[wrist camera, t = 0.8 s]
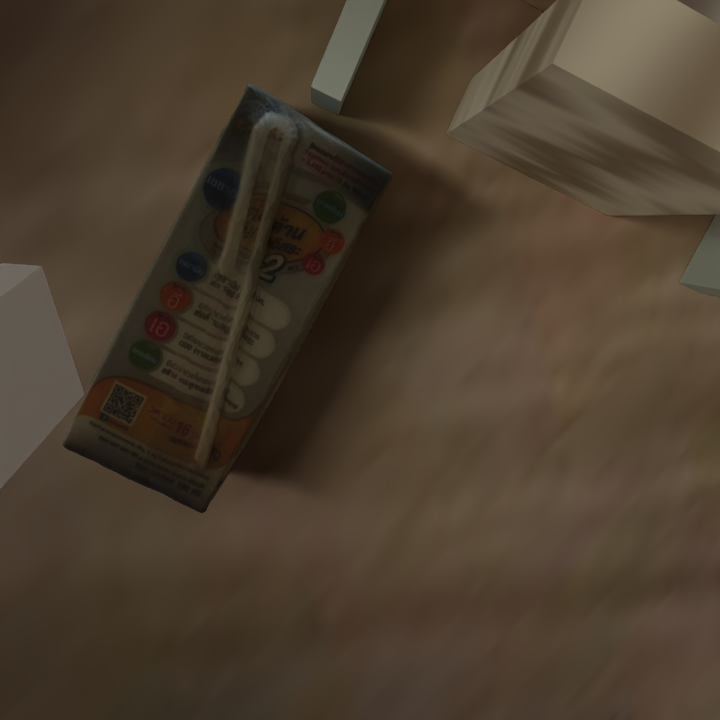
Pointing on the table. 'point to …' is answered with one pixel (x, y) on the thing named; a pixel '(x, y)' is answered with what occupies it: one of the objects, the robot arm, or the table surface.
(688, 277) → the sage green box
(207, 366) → the beverage carton
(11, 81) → the table surface
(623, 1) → the birch block
